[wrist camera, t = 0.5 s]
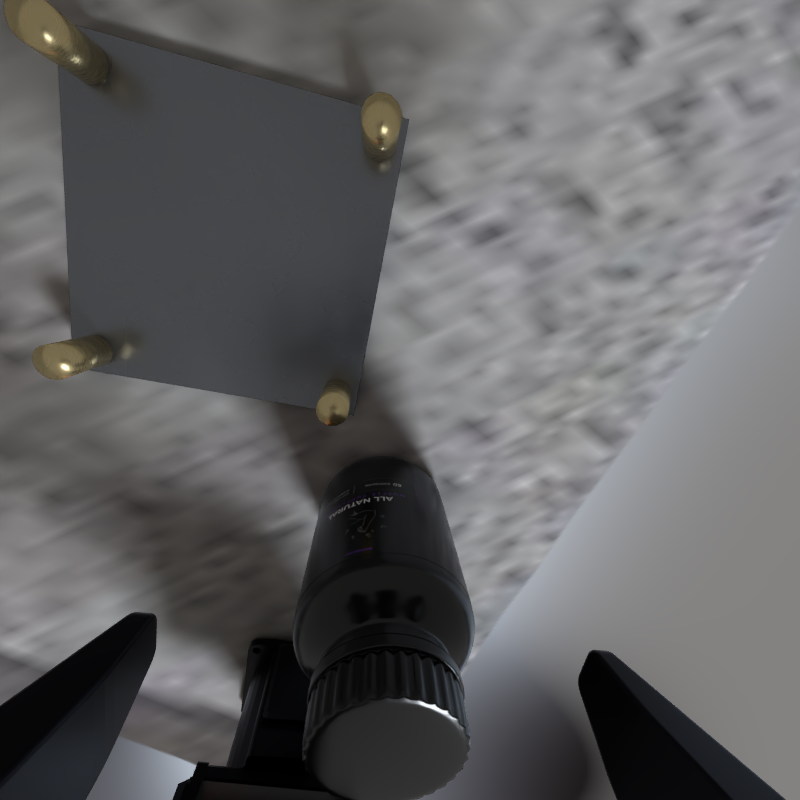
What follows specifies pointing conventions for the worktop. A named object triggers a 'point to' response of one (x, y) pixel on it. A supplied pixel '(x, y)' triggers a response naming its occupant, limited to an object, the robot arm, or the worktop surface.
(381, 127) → the chassis plate
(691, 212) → the worktop surface
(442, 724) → the supplement bottle
